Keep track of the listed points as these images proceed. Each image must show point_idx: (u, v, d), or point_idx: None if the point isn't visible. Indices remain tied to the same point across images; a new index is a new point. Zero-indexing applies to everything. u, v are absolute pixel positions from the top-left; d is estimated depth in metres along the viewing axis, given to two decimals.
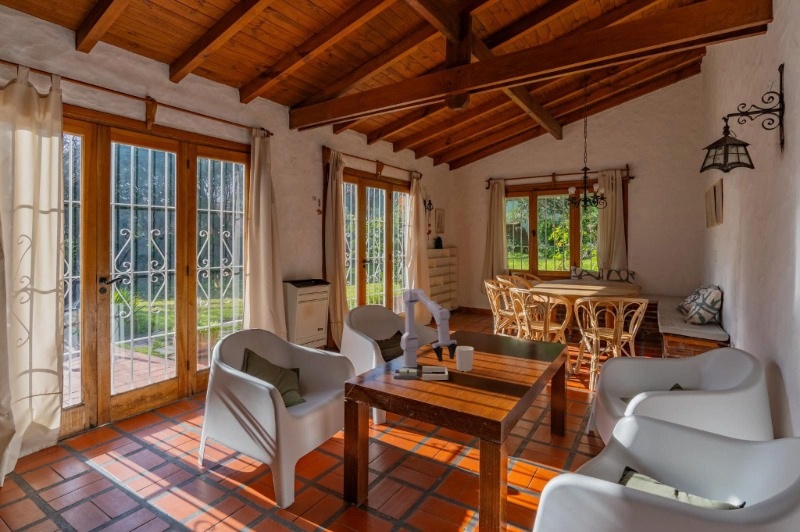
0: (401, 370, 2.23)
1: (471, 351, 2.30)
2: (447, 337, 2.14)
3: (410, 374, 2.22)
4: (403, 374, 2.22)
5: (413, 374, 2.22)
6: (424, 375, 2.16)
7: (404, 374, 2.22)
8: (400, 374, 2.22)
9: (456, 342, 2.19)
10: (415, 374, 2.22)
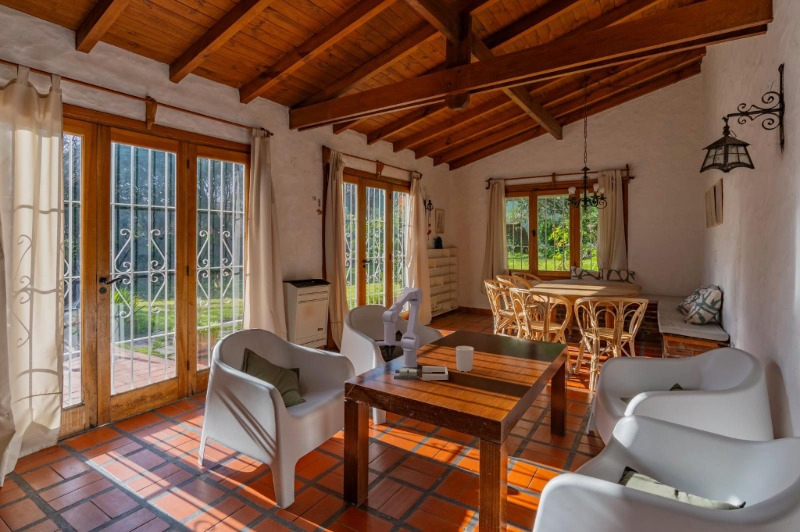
0: (401, 370, 2.23)
1: (471, 351, 2.30)
2: (389, 339, 2.20)
3: (410, 374, 2.22)
4: (403, 374, 2.22)
5: (413, 374, 2.22)
6: (424, 375, 2.16)
7: (404, 374, 2.22)
8: (400, 374, 2.22)
9: (403, 345, 2.22)
10: (415, 374, 2.22)
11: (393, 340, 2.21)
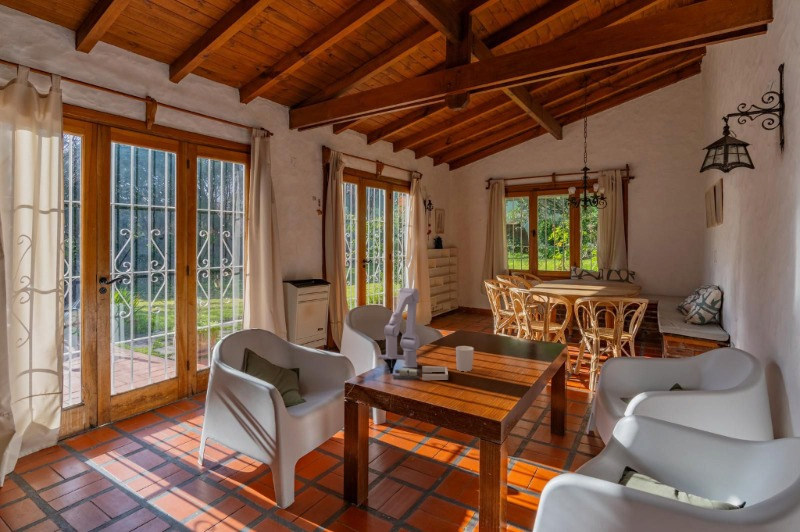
0: (401, 370, 2.23)
1: (471, 351, 2.30)
2: (391, 353, 2.21)
3: (410, 374, 2.22)
4: (403, 374, 2.22)
5: (413, 374, 2.22)
6: (424, 375, 2.16)
7: (404, 374, 2.22)
8: (400, 374, 2.22)
9: (405, 358, 2.22)
10: (415, 374, 2.22)
11: (395, 354, 2.22)
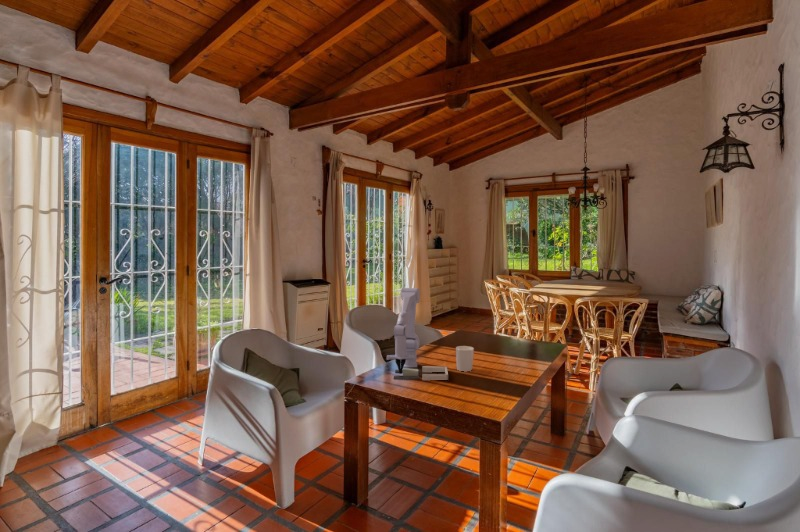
0: (404, 370, 2.23)
1: (471, 351, 2.30)
2: (400, 353, 2.20)
3: (412, 374, 2.21)
4: (407, 374, 2.22)
5: (415, 374, 2.21)
6: (424, 375, 2.16)
7: (408, 374, 2.22)
8: (404, 374, 2.22)
9: (414, 358, 2.22)
10: (417, 374, 2.21)
11: (404, 354, 2.21)
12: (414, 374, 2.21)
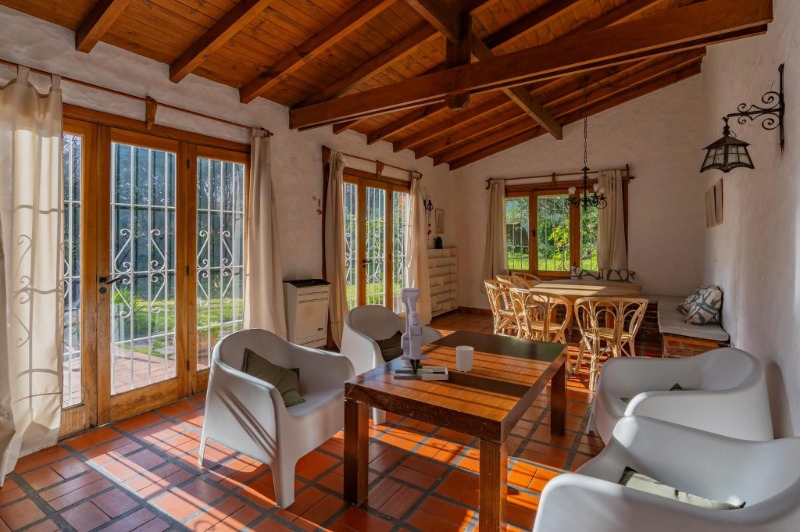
0: (419, 370, 2.23)
1: (471, 351, 2.30)
2: (415, 353, 2.20)
3: None
4: (421, 374, 2.21)
5: None
6: (424, 375, 2.16)
7: None
8: (418, 374, 2.21)
9: (428, 359, 2.22)
10: None
11: (419, 354, 2.21)
12: None
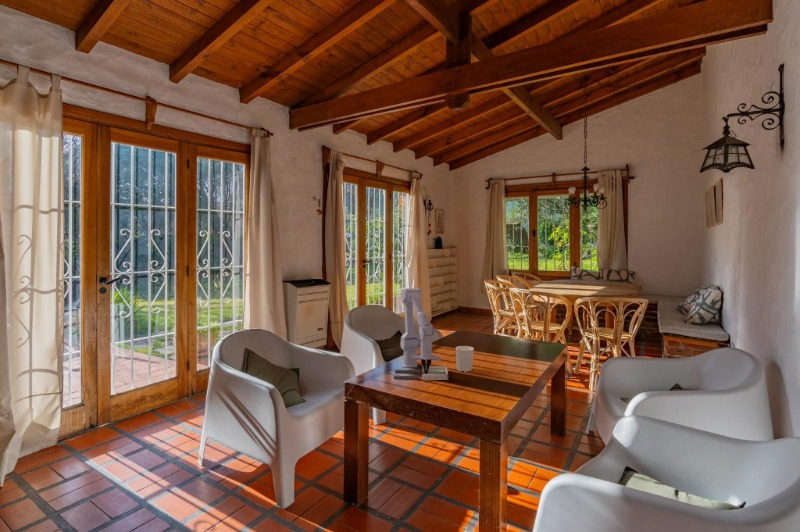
0: (430, 371, 2.23)
1: (471, 351, 2.30)
2: (426, 353, 2.20)
3: None
4: None
5: None
6: (424, 375, 2.16)
7: None
8: None
9: None
10: None
11: (430, 354, 2.21)
12: None
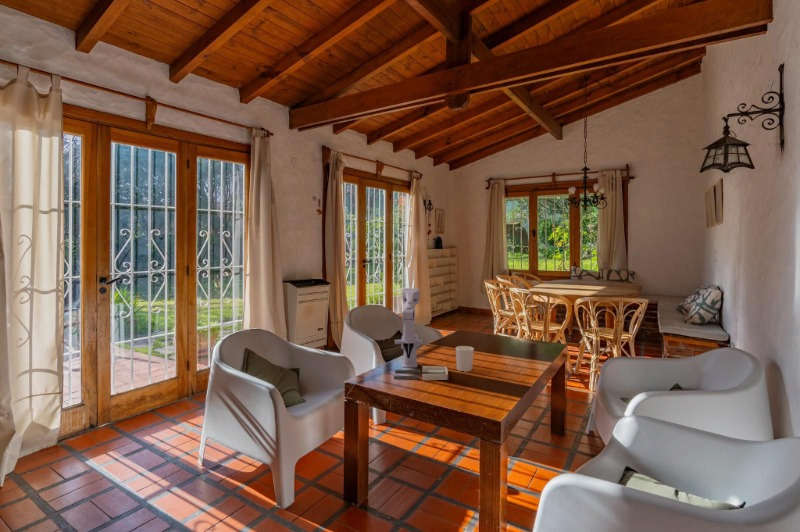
0: (430, 371, 2.23)
1: (471, 351, 2.30)
2: (408, 337, 2.22)
3: None
4: None
5: None
6: (424, 375, 2.16)
7: None
8: None
9: None
10: None
11: (412, 338, 2.23)
12: None
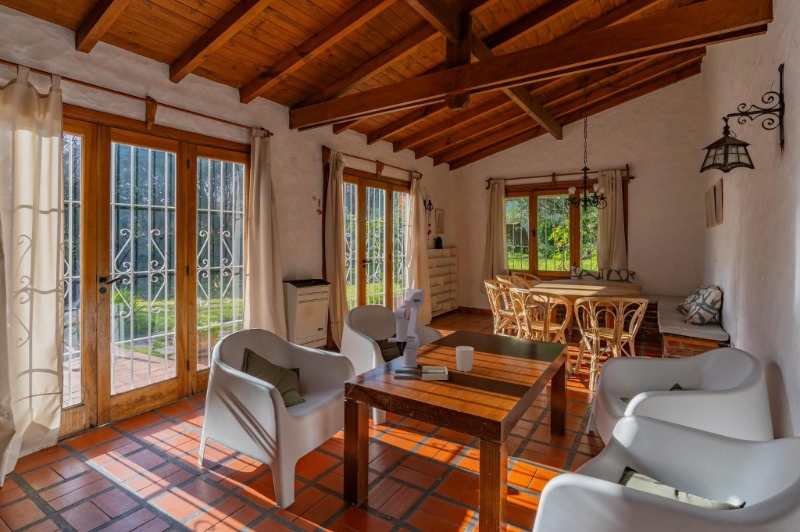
0: (430, 371, 2.23)
1: (471, 351, 2.30)
2: (401, 335, 2.24)
3: None
4: None
5: None
6: (424, 375, 2.16)
7: None
8: None
9: (415, 341, 2.26)
10: None
11: (405, 336, 2.25)
12: None
